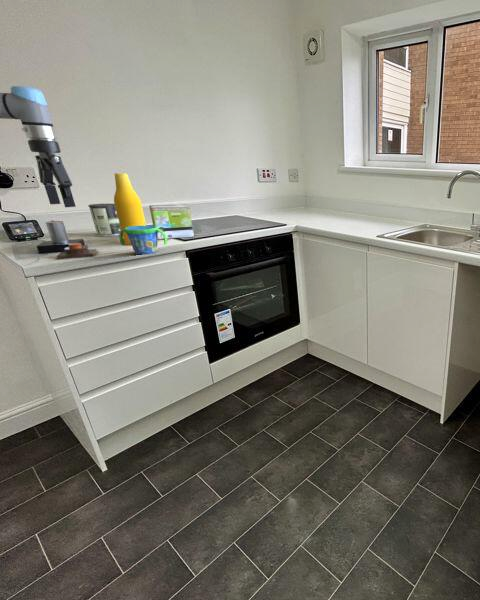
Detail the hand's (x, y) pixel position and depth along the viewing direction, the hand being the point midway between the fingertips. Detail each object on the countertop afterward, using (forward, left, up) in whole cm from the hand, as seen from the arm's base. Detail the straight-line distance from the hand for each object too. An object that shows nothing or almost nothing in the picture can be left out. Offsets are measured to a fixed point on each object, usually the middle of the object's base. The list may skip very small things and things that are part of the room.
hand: (62, 205), depth 126 cm
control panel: (-7, +13, -18) cm, 23 cm away
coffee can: (+4, +43, -19) cm, 47 cm away
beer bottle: (+17, +17, -19) cm, 30 cm away
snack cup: (+22, -5, -19) cm, 29 cm away
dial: (-7, +13, -15) cm, 21 cm away
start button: (0, 0, -16) cm, 16 cm away
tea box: (+31, +27, -19) cm, 45 cm away
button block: (0, 0, -18) cm, 18 cm away
